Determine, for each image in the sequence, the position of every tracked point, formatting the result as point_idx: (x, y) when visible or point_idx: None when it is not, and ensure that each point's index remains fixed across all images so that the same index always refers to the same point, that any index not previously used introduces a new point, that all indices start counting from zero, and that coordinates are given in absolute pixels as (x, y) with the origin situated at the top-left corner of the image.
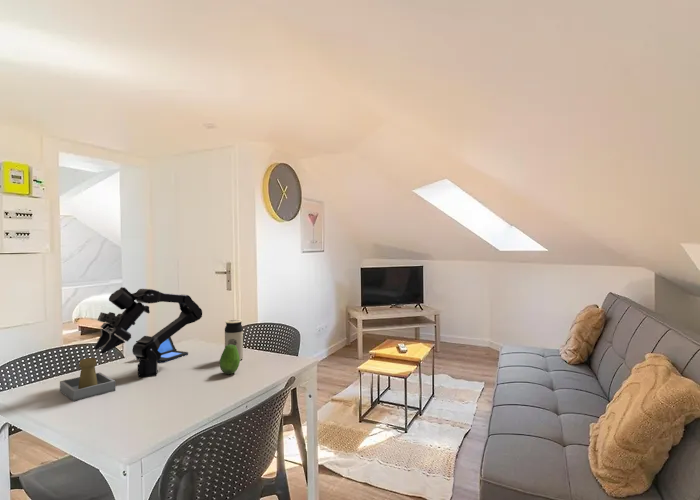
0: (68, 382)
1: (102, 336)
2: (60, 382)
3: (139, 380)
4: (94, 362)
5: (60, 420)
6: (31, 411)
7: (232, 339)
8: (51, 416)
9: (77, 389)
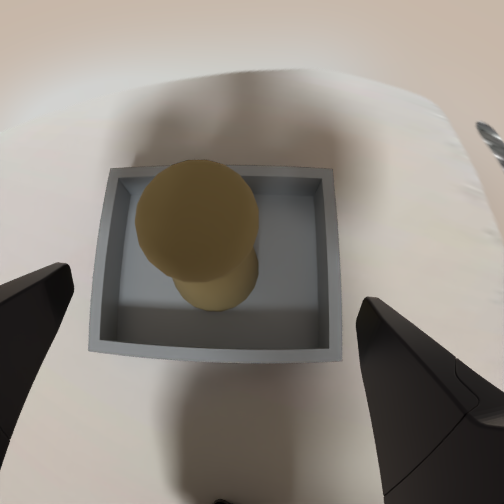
0: (320, 205)
1: (451, 419)
2: (320, 170)
3: (173, 483)
4: (141, 248)
5: (24, 138)
6: (159, 91)
7: None
8: (66, 123)
9: (116, 184)
